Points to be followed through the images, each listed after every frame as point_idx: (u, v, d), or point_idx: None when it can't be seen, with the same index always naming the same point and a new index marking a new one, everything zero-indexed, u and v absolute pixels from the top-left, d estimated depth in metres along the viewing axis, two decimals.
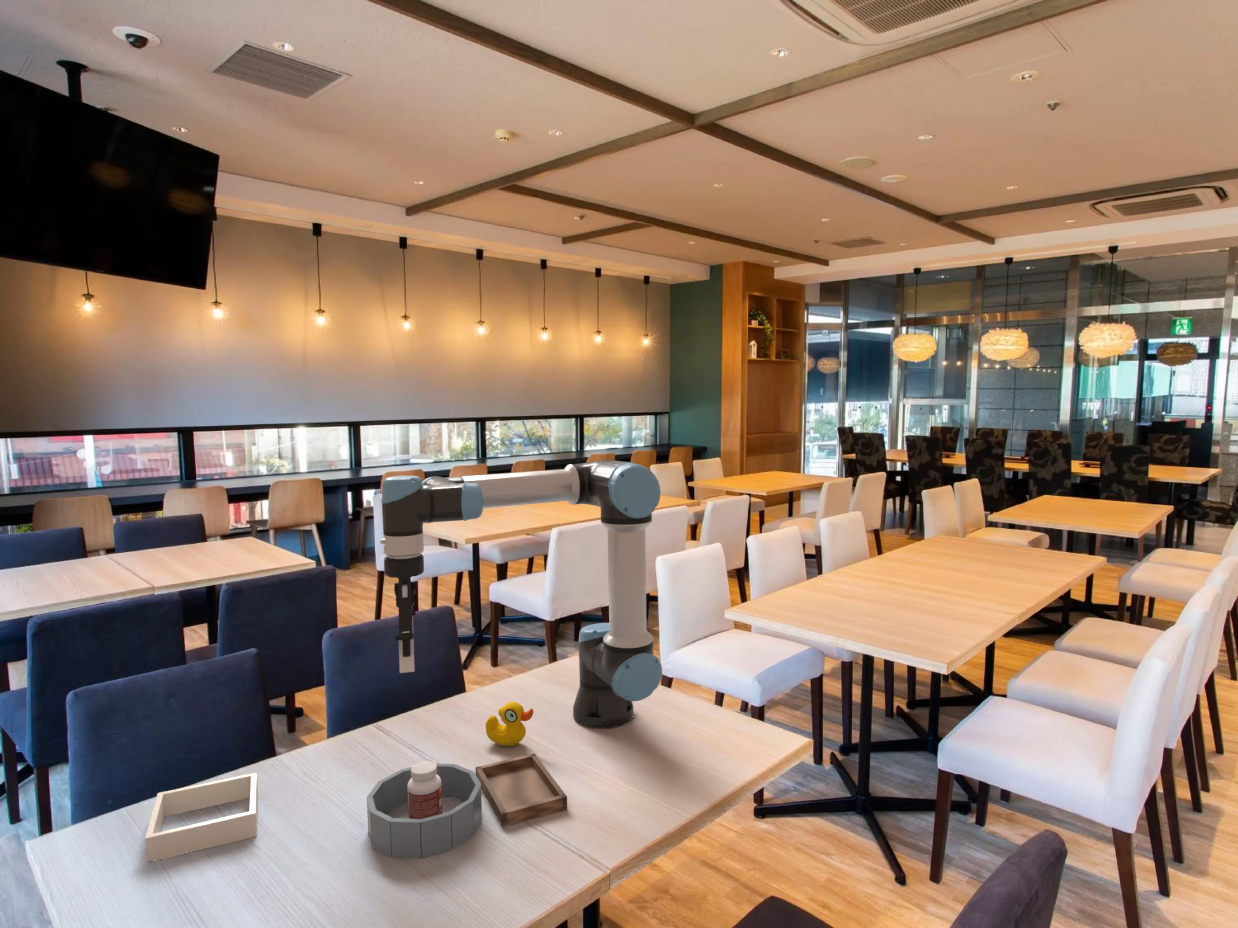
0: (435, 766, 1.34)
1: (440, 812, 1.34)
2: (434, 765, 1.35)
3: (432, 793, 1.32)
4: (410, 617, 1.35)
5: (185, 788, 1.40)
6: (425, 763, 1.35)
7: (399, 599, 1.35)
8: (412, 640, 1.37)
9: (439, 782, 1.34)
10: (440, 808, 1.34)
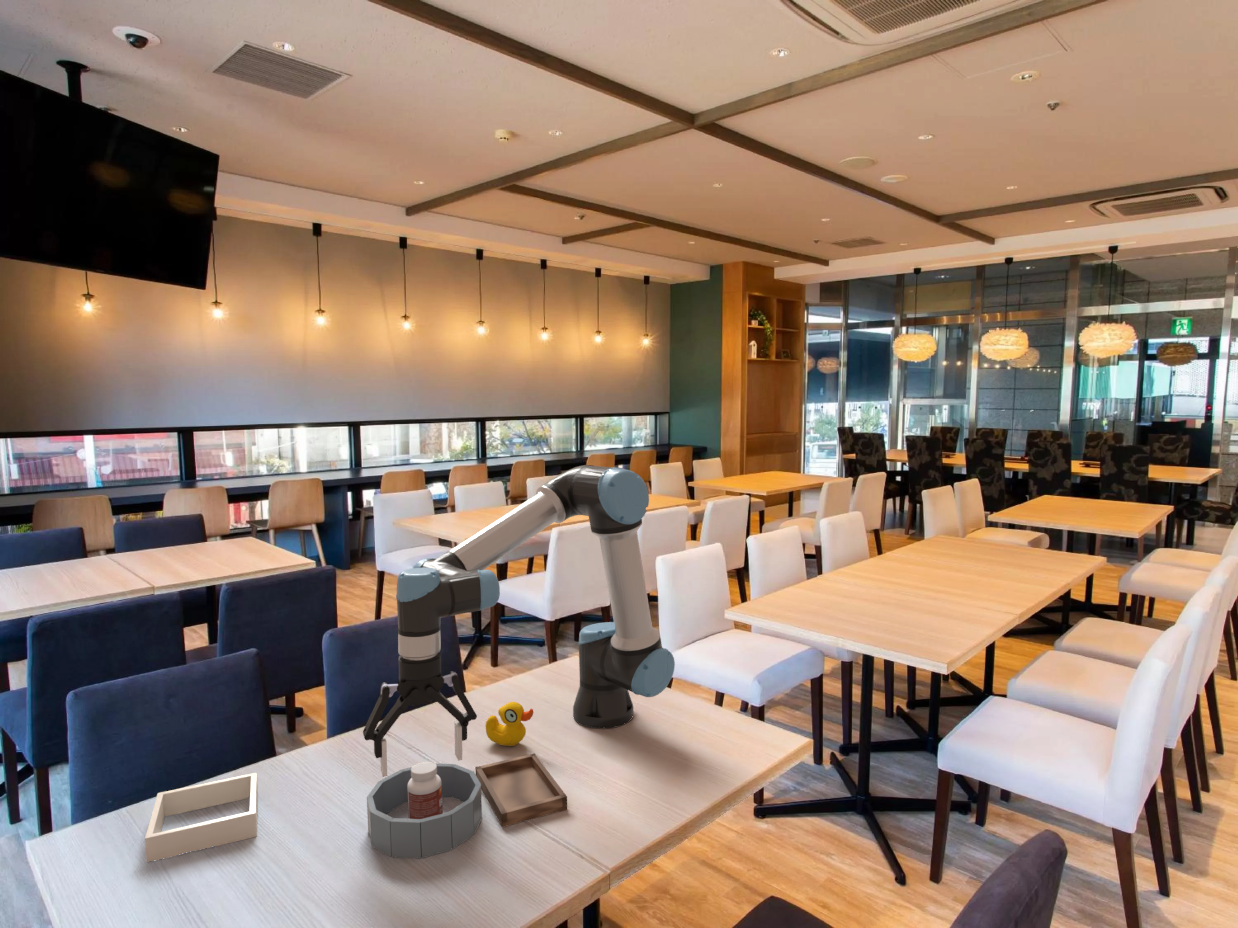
0: (435, 766, 1.34)
1: (440, 812, 1.34)
2: (434, 765, 1.35)
3: (432, 793, 1.32)
4: (372, 718, 1.28)
5: (185, 788, 1.40)
6: (425, 763, 1.35)
7: (380, 694, 1.30)
8: (381, 743, 1.29)
9: (439, 782, 1.34)
10: (440, 808, 1.34)
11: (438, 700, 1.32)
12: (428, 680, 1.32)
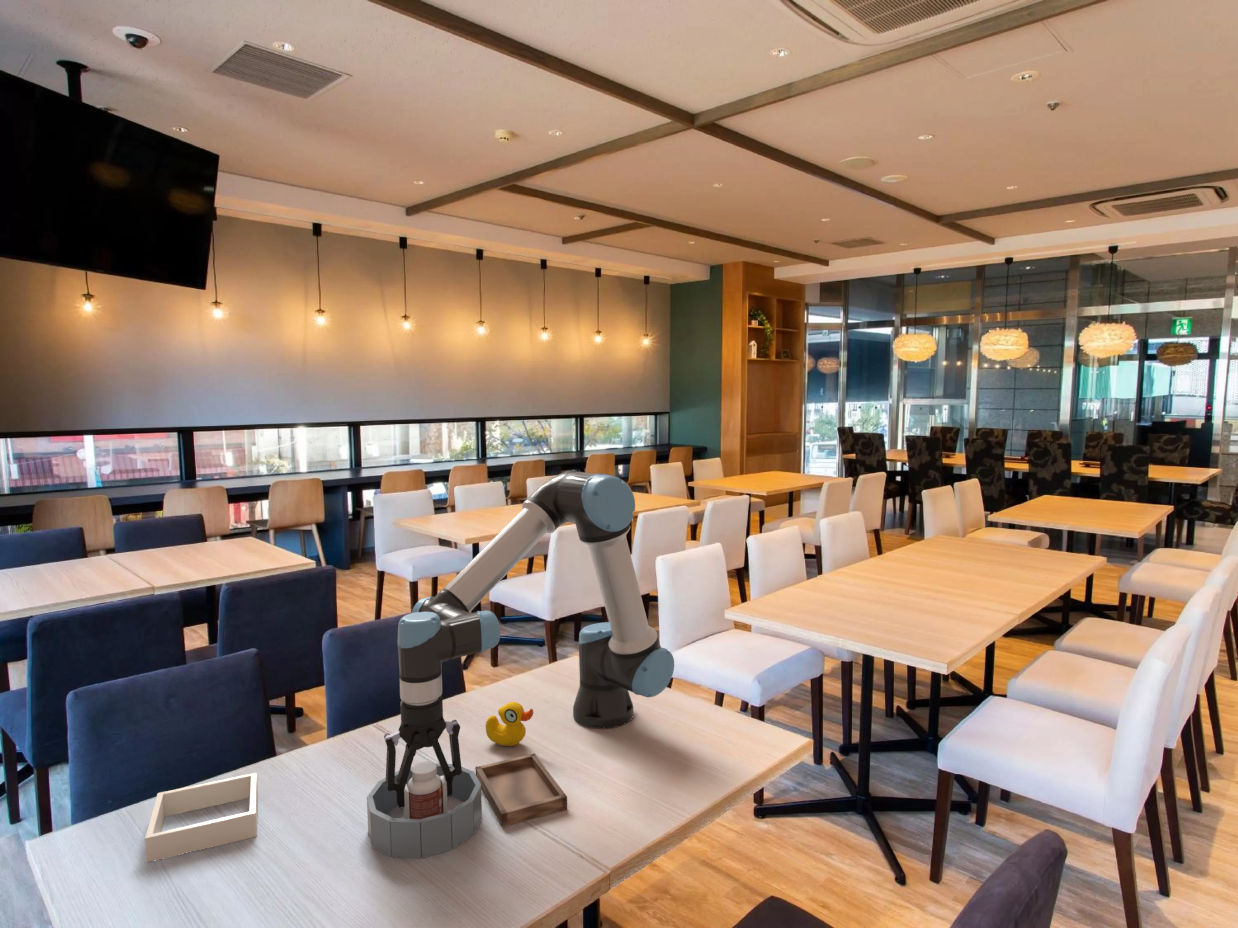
0: (435, 766, 1.34)
1: (440, 812, 1.34)
2: (434, 765, 1.35)
3: (432, 793, 1.32)
4: (387, 770, 1.30)
5: (185, 788, 1.40)
6: (425, 763, 1.35)
7: (387, 746, 1.32)
8: (404, 793, 1.32)
9: (439, 782, 1.34)
10: (440, 808, 1.34)
11: (435, 747, 1.33)
12: None
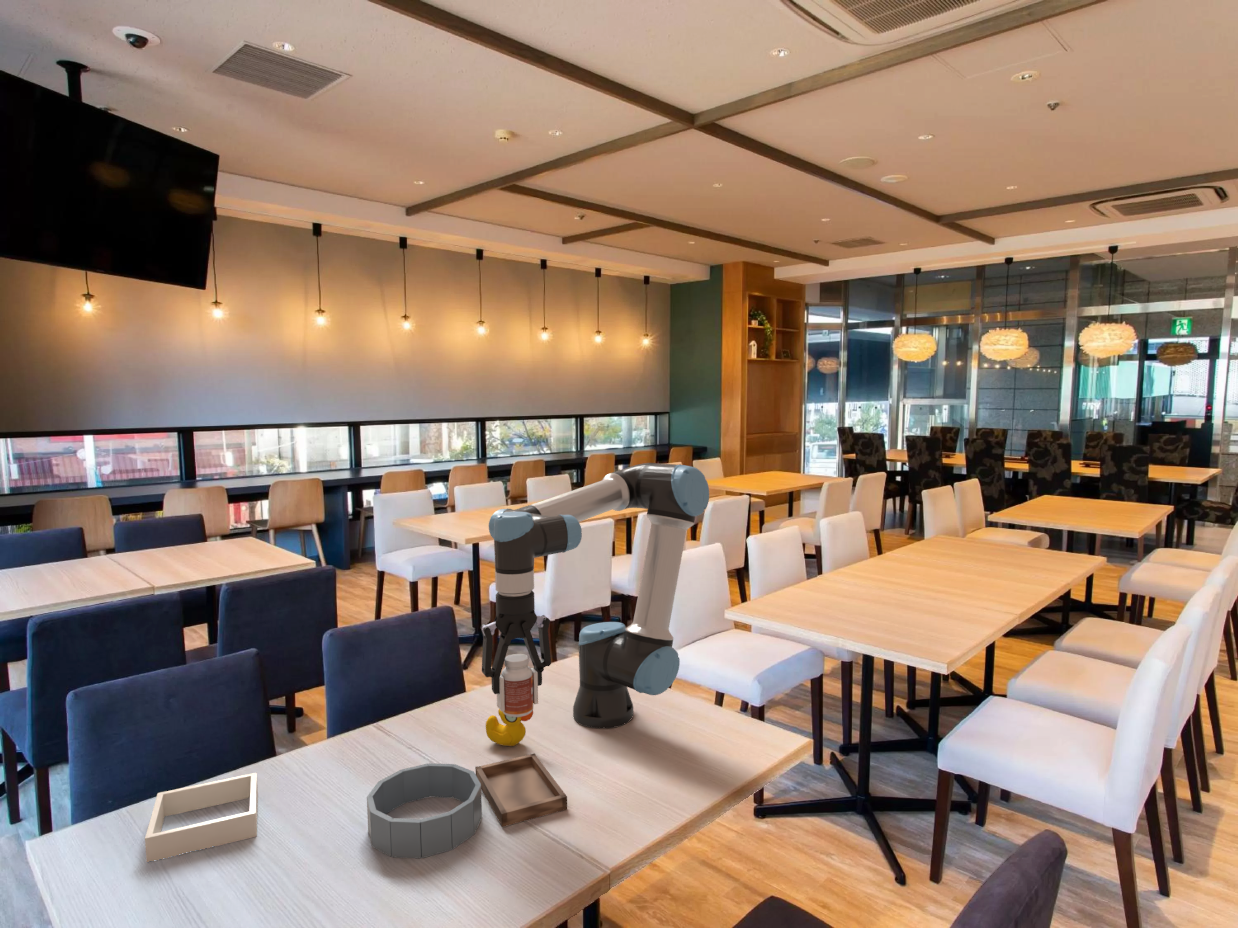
0: (526, 657, 1.43)
1: (532, 700, 1.43)
2: (526, 656, 1.43)
3: (525, 680, 1.40)
4: (485, 657, 1.39)
5: (185, 788, 1.40)
6: (517, 655, 1.44)
7: (483, 636, 1.40)
8: (499, 680, 1.40)
9: (531, 671, 1.42)
10: (532, 696, 1.43)
11: (527, 638, 1.41)
12: None
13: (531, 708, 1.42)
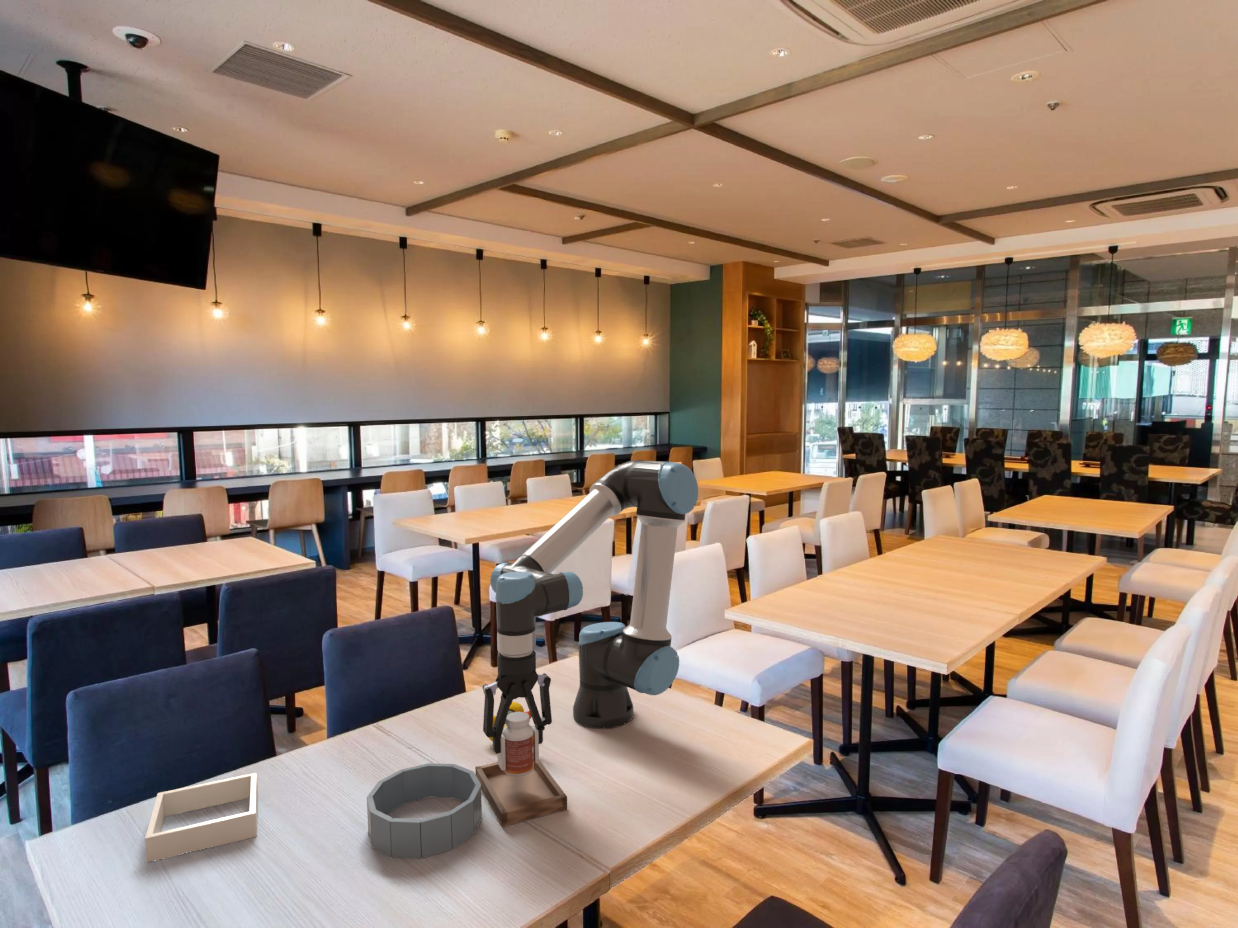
0: (528, 716, 1.44)
1: (532, 758, 1.44)
2: (527, 715, 1.44)
3: (526, 740, 1.42)
4: (486, 717, 1.40)
5: (185, 788, 1.40)
6: (518, 713, 1.45)
7: (485, 696, 1.41)
8: (501, 740, 1.41)
9: (532, 730, 1.43)
10: (532, 755, 1.44)
11: (529, 697, 1.42)
12: None
13: (532, 767, 1.43)
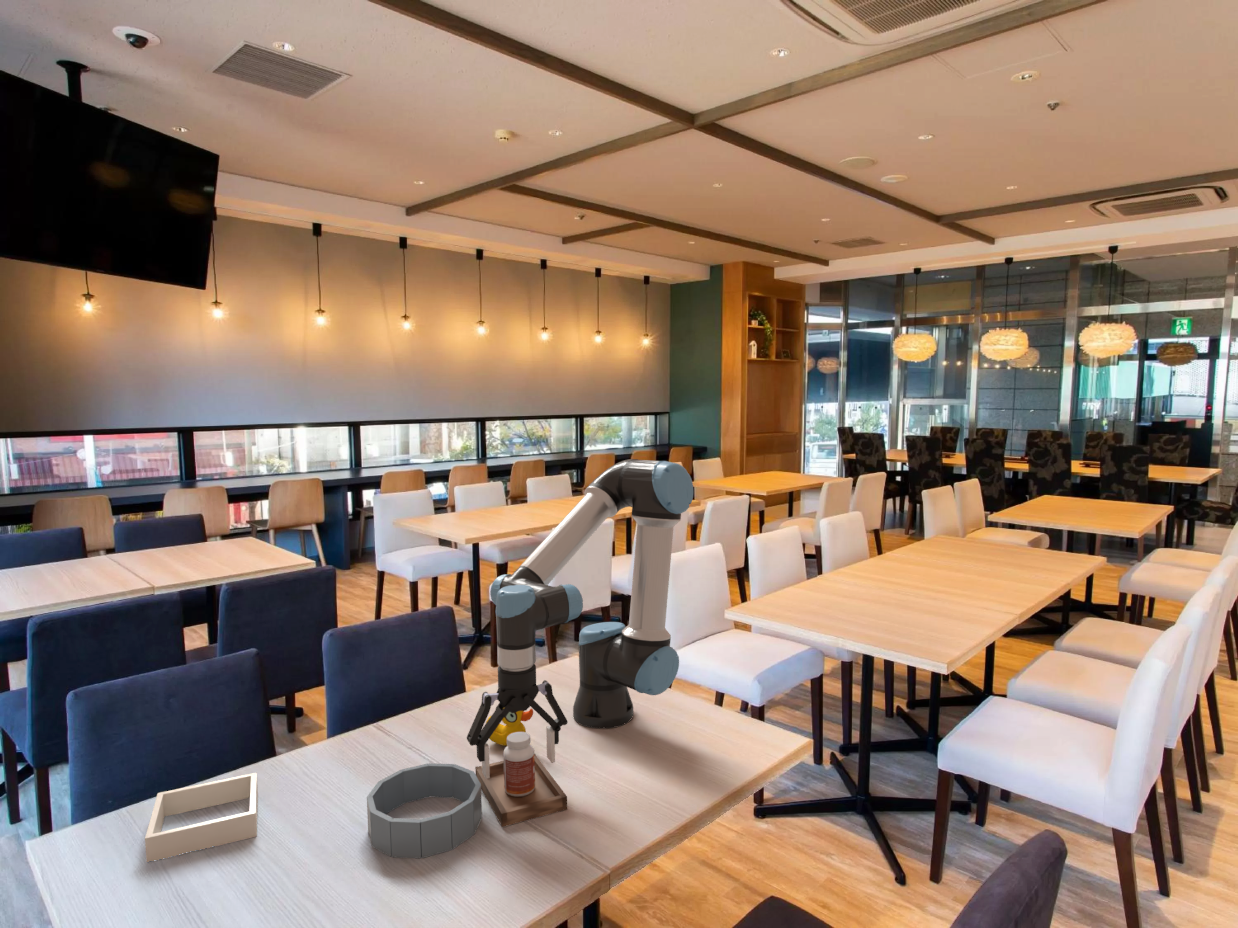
0: (528, 736, 1.44)
1: (534, 778, 1.44)
2: (527, 735, 1.45)
3: (527, 760, 1.42)
4: (476, 725, 1.39)
5: (185, 788, 1.40)
6: (519, 733, 1.45)
7: (481, 703, 1.41)
8: (484, 748, 1.40)
9: (533, 750, 1.44)
10: (534, 775, 1.44)
11: (534, 707, 1.43)
12: (525, 689, 1.43)
13: (533, 787, 1.44)
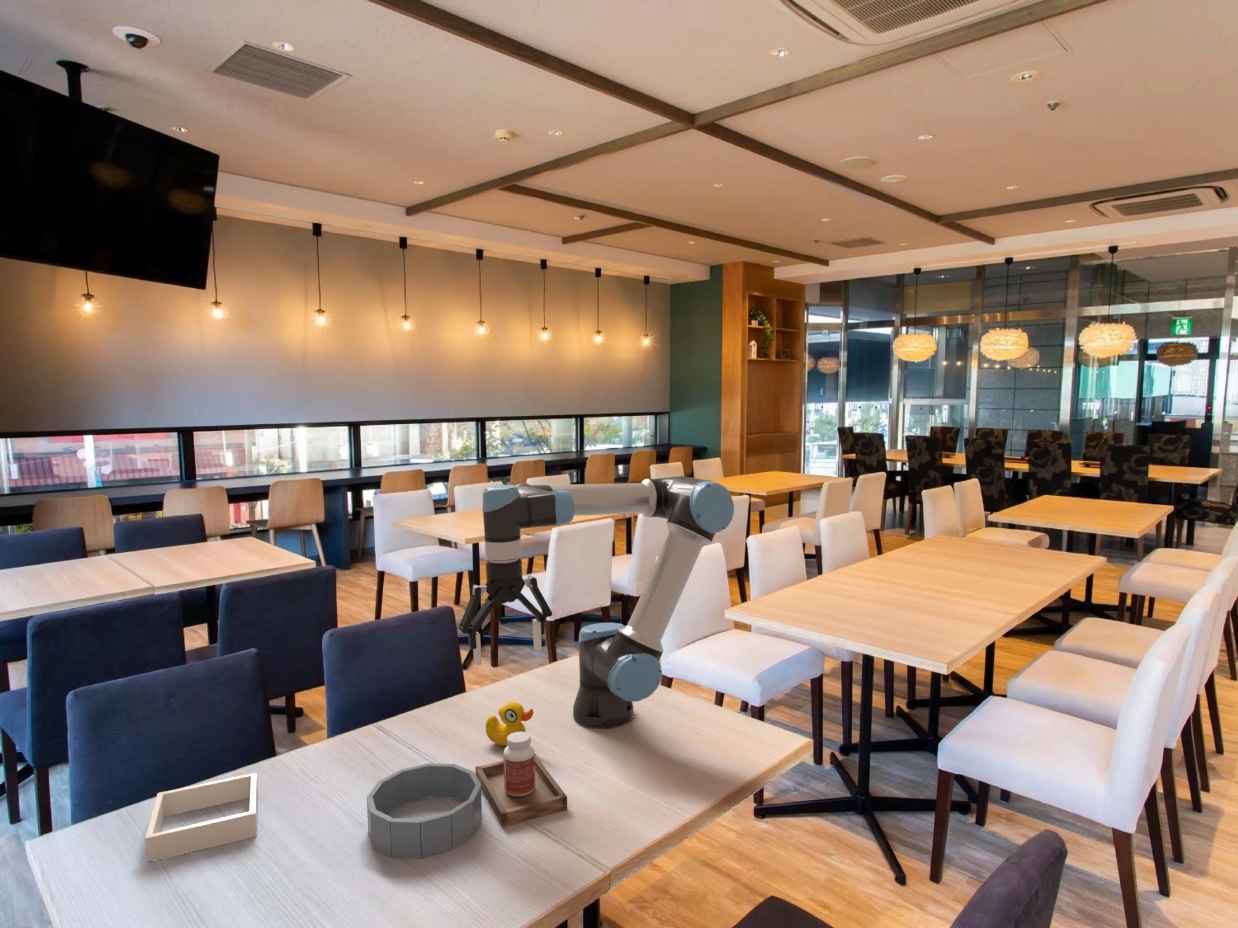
0: (529, 736, 1.44)
1: (534, 778, 1.44)
2: (528, 735, 1.45)
3: (527, 760, 1.42)
4: (467, 614, 1.48)
5: (185, 788, 1.40)
6: (519, 733, 1.45)
7: (471, 595, 1.50)
8: (476, 636, 1.49)
9: (533, 750, 1.44)
10: (534, 775, 1.44)
11: (521, 599, 1.53)
12: (512, 581, 1.52)
13: (533, 787, 1.44)
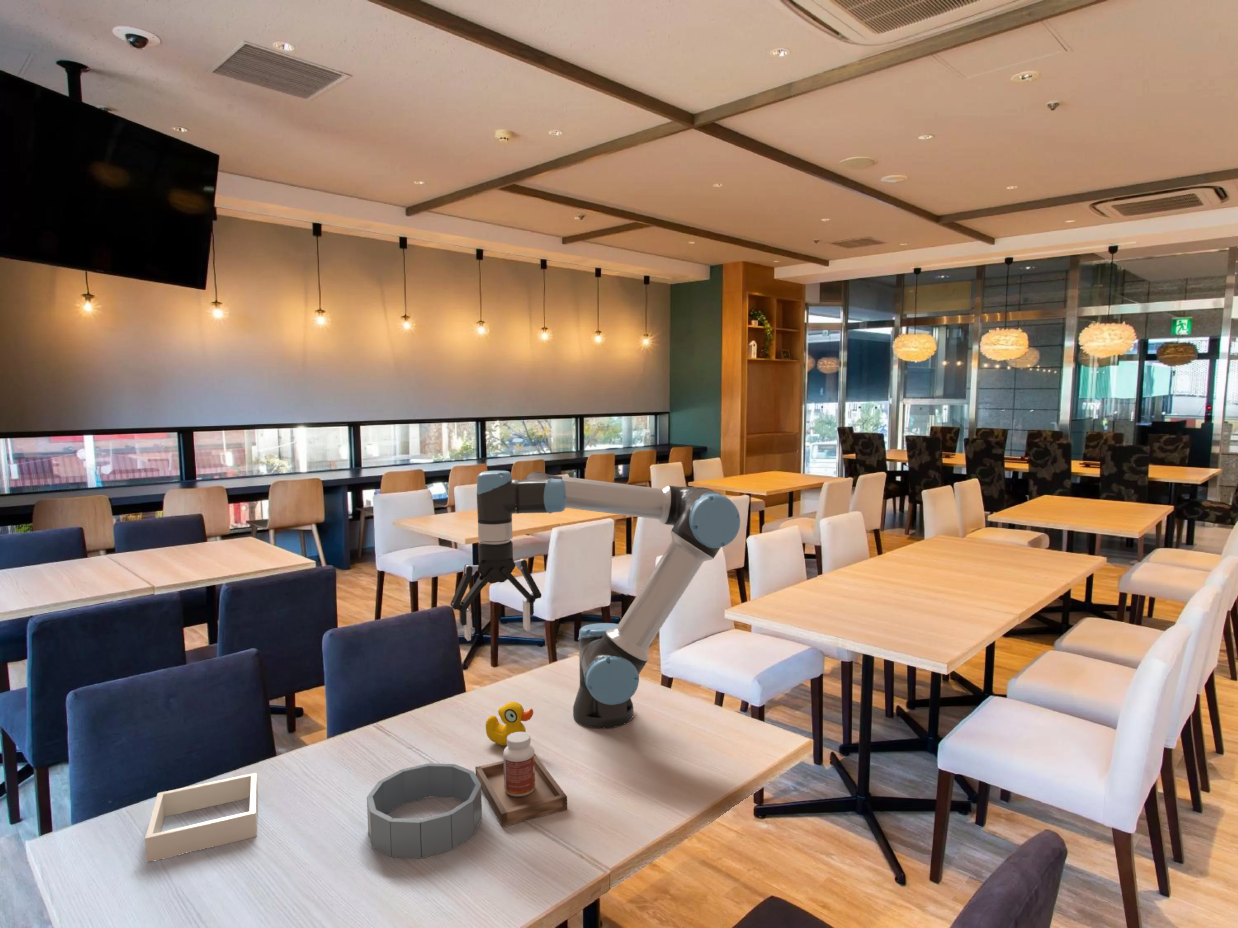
0: (528, 736, 1.44)
1: (534, 778, 1.44)
2: (527, 735, 1.45)
3: (527, 760, 1.42)
4: (459, 591, 1.56)
5: (185, 788, 1.40)
6: (519, 733, 1.45)
7: None
8: (466, 613, 1.57)
9: (533, 750, 1.44)
10: (534, 775, 1.44)
11: (511, 579, 1.60)
12: (502, 563, 1.59)
13: (533, 787, 1.44)
